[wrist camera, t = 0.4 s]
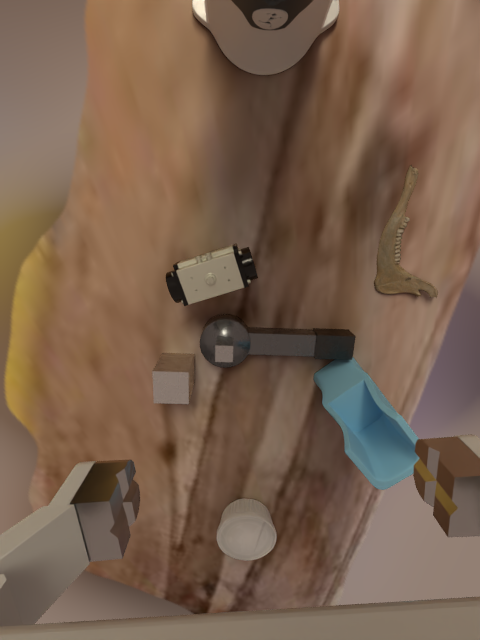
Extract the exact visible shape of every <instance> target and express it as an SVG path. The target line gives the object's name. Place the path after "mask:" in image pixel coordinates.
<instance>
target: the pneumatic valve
mask: <svg viewBox="0 0 480 640" xmlns="http://www.w3.org/2000/svg"><path fill="white" fill-rule="evenodd" d="M173 267H174V271H171V272H168V273H166V282H167V286H168V289H169V292H170V294H171V296H172V298H173V300H174V301H175V302H176V303H179V302H182V303H183V304H184V306H186V305H190V304H193V303H196V302H199V301H203V300H206V299H209V298H212V297H216V296H219V295H222V294H225V293H229V292H232V291H235V290H239V289H242V288H245V287H248V286H249V283H251V282H250V280H253V279H257V278H258V276H257V273H256V269H255V266H254V262H253V259H252V256H251V252H250V249H249V247H247V248H243V249H241V248H238V246H237V244H233V245H230V246H227V247H224V248H221V249H218V250H215V251H211V252H208V253H205V254H202V255H199V256H196V257H193V258H189V259H186V260H183V261H180V262H177V263H175V264H174V265H173Z"/></svg>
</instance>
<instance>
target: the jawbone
mask: <svg viewBox="0 0 480 640" xmlns="http://www.w3.org/2000/svg"><path fill="white" fill-rule="evenodd" d="M417 177H418V170H417V168H414V167H412V166H411V165H410V167H409V170H408V172H407V174H406V177H405V183H404V189H403V192H402V195H401V198H400V201H399V203H398V205H397V207H396V209H395V210H394V212H393V214H392V215H391V217H390V219H389V221H388V223H387V224H386V226H385V229H384V231H383V233H382V236H381V239H380V243H379V248H378V254H377V276H376V279H375V281H374V284H375V285H374V286H375V288H376V290H377V291H378V292H381V293H383V294H396V293H411V294H414V295H415V296H421V294H420V293H419V290H424V291H426V292H427V293H428V294H429V296H430V298H431V297H436V298H437V295H438V291H437V289H436V288H435V287H434V286H433V285H432V284H430V283H428V282H426V281H424V280H421V279H419V278H417V277H415V276H412V275H411V274H409V273H408V272H406V271H405V270H404V269H403V268H402V267H401V266H400V265H399V263H400V259H401V258H400V255H401V254H400V253H399V252H400V251H401V249H400V247H401V245H400V243H401V239H402V237H401V234H402V233H403V232H404V231H403V230H404V228H405V227H406V226H407V222H408V221H409V220H410V219H409V218H408V217H405V212H406V208H407V204H408V201H409V198H410V196H411V194H412V192H413V190H414V187H415V184H416V180H417Z"/></svg>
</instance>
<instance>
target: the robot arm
mask: <svg viewBox="0 0 480 640" xmlns="http://www.w3.org/2000/svg"><path fill="white" fill-rule="evenodd" d="M192 10H193V14H194V16H195V17H196V18H197V19H198V20H199V21H200V22H201V23H202V24H203V25H204V26H205V27H207V28H208V29H209V30H210V31H211V33H212V34H213V36H214V38H215V39H216V41H217V43H218V45H219V47H220V49H221V50H222V52H223V53H224V54H225V56H226V57H227V58H228V59H229V60H230V61H231V62H232V63H233V64H235V65H236V66H237V67H239V68H240V69H242V70H244V71H247V72H249V73H252V74H257V75H271V74H276V73H280V72H282V71H285V70H287V69H288V68H290V67H292V66H293V65H294V64H296V63H297V62H298V61H299V60H300V59H301V58H302V57H303V56H304V55H305V53H306V52H307V51H308V49H309V48H310V46H311V45H312V43H313V42H314V40H315V39H316V38H317V36H318V35H319V34H321V33H322V32H324V31H325V30H327V29H328V28H329V27H331V26H332V25H333V24H334V23H335V21H336V20H337V17H338V14H339V0H192ZM415 453H416V454H417V456H418V457H419V460H418V461H417V462H416V463H415V464H414V473H413V474H414V475H413V476H414V480H415V485H416V488H417V490H418V492H419V494H420V496H421V497H422V499H423V500H424V501H425V502H426V503H427V504H429V505H431V506H432V507H434V512H433V516H434V517H435V518H436V520H437V521H438V523H439V525H440V526H441V527H442V529H443V530H444V532H445V533H446V535H447V536H448V537H467V536H480V439H479V438H478V437H477V436H475V435H472V434H471V435H460V436H454V437H444V438H430V439H418V440H417V442H416V444H415ZM135 472H136V470H135V466H134V462H133V461H132V460H111V461H97V462H96V461H93V462H80V463H78V464H76V466H75V467H74V468H73V470H72V471H71V473H70V474H69V476H68V477H67V479H66V480H65V482H64V483H63V485H62V486H61V488H60V489H59V491H58V492H57V494H56V495H55V497H54V498H53V500H52V501H51V502H50V504H49V505H48V506H45V507H41V508H40V509H38V510H37V511H35V512H34V513H32V514H31V515H29V516H28V517H27V518H25V519H23V520H22V521H20V522H19V523H17V524H16V525H14V526H13V527H12V528H10V529H9V530H7V531H6V532H4V533H3V534H1V535H0V640H480V597H467V598H451V599H434V600H418V601H402V602H387V603H386V602H385V603H369V604H352V605H336V606H320V607H304V608H288V609H272V610H256V611H240V612H224V613H208V614H192V615H176V616H160V617H144V618H129V619H113V620H97V621H81V622H64V623H48V624H35V623H36V622H37V621H38V619H39V618H40V617H41V616H42V615H43V614H44V613H45V612H46V611H47V610H48V609H49V607H50V606H51V605H52V604H53V603H54V602H55V601H56V600H57V599H58V597H60V595H61V594H62V593H63V592H64V591H65V590H66V589H67V588H68V587H69V586H70V585H71V583H72V582H73V581H74V580H75V579H76V578H77V577H78V576H79V575H80V574H81V573H82V572H83V570H84V569H85V568H86V567H87V566H88V565H89V564H90V563H89V562H92V561H102V560H112V559H122V558H123V556H124V553H125V550H126V547H127V544H128V541H129V538H130V536H131V535H130V530H129V526H131V525H132V524H133V523H134V522H135V521H136V518H137V515H138V512H139V505H140V490H139V485H138V484H137V483H136V482H135V481H134V480H133V477H134V475H135Z"/></svg>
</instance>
